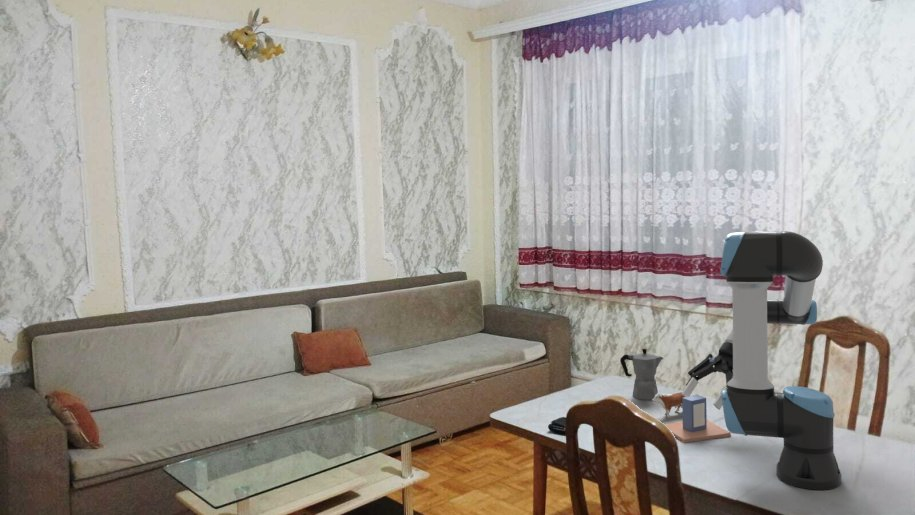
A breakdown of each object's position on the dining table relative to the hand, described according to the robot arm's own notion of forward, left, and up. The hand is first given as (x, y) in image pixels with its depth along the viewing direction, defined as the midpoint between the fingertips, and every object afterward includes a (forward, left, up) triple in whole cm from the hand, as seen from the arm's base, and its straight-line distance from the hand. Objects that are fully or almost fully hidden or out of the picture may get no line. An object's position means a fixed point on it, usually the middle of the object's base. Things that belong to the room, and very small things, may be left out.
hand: (699, 401), depth 219 cm
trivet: (0, +2, -9) cm, 10 cm away
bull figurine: (+17, 0, -10) cm, 19 cm away
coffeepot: (+39, -1, -10) cm, 40 cm away
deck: (0, +2, -8) cm, 9 cm away
